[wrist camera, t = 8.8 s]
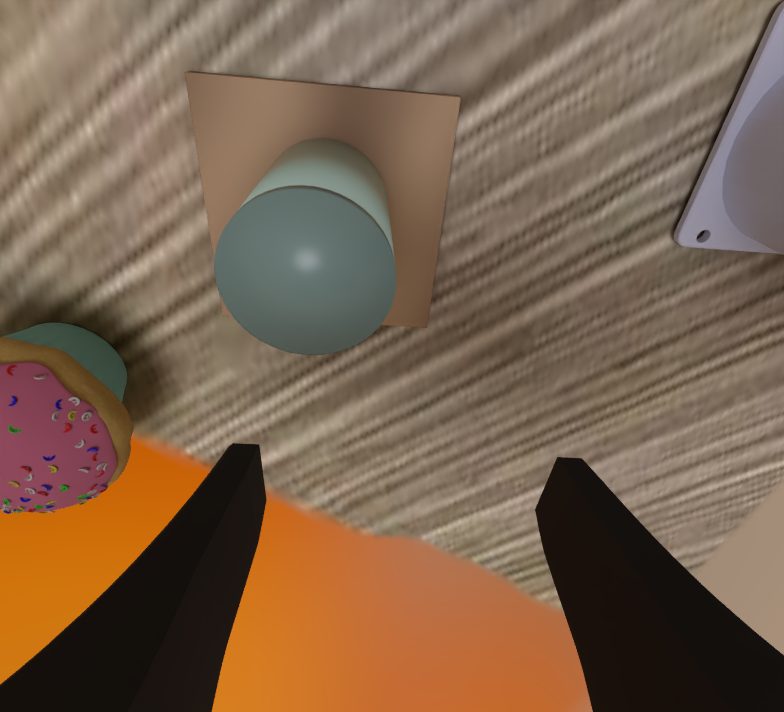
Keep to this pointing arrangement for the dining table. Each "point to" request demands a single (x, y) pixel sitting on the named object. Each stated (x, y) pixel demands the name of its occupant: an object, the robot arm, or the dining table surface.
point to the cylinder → (310, 251)
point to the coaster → (342, 123)
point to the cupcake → (60, 418)
